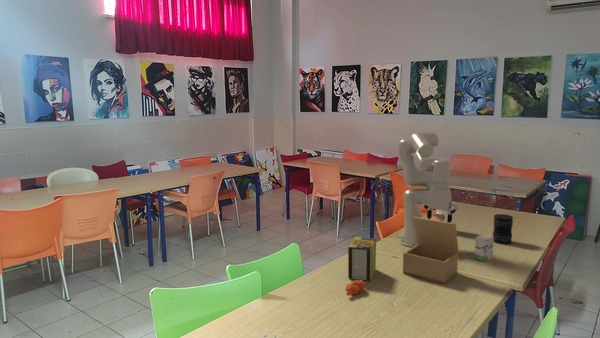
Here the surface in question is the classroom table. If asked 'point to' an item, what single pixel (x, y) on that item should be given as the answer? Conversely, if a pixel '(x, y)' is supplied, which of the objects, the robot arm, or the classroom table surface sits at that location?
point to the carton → (430, 263)
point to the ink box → (484, 247)
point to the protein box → (362, 258)
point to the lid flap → (436, 233)
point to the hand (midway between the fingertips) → (439, 220)
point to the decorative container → (445, 214)
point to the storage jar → (502, 229)
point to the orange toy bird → (355, 287)
